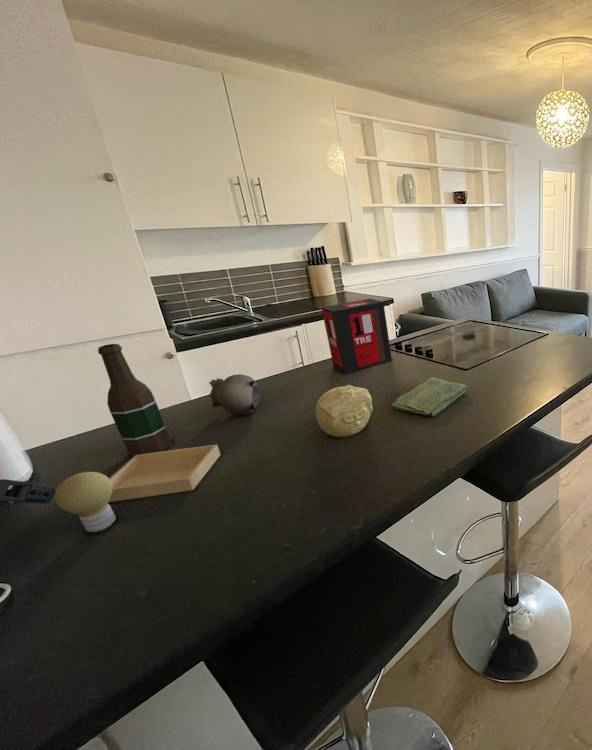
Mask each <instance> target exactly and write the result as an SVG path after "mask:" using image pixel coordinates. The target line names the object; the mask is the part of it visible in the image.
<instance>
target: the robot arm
mask: <svg viewBox="0 0 592 750" xmlns="http://www.w3.org/2000/svg"><path fill="white" fill-rule="evenodd" d="M10 486H11V488H10ZM9 488H10V490H9ZM56 489H57V488H55V487H54V486H45V485H37V484H35V483H34V482H31V481H29V480H24V481H23V480H22V481H21V480H14V479H13V480H12V479H4V478H2V477H1V476H0V502H8V503H9V504H20V503H31V504H43V505H44V504H45V505H47V504H49V503H51V502H52V500H53V498H54V497H55V492H56ZM8 490H9V492H8ZM7 492H8V494H7ZM6 494H7V496H6Z"/></svg>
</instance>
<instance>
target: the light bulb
mask: <svg viewBox="0 0 592 750" xmlns="http://www.w3.org/2000/svg"><path fill="white" fill-rule="evenodd" d="M109 478H110V477H108V476H107V475H105V474H103V473H101V472H97V471H83V472H79V473H75V474H73V475H71V476H70V477H68V478H66V479H65V480H64V481H62V482H61V483H60V484H59V485H58V486H57V488H55V489H56V491H55V494H54V499H55V502H56V504H57V505H58V507H59V508H60V509H62V510H63V511H65V512H68V513H70V514H74V515H77V516H79V520H80V521H81V524H82V525H83V527H84V529H85V531H86V532H89V533H97V532H100V531H103V530H106V529H108V528H109V527H110V526H112V525H113V523H115V522H116V515H115V513H114V511H113V509H112V506H111V505H110V504H109V502H108V501H109V499H110V497H111V495H112V490H113V486H112V483H111V481H110V479H109Z"/></svg>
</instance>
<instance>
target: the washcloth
mask: <svg viewBox="0 0 592 750" xmlns="http://www.w3.org/2000/svg"><path fill="white" fill-rule="evenodd" d="M467 389H468V387H467V385H466V384H463V383H458V382H453V381H446V380H443V379H441V378H437V377H430V378H428V379H427V380H426V381H424V382H423V383H420V384H418V385H417V386H415V387H414V388H412V389H411V390H409V391H408V392H406V393H404V394H402V395H399V396H398V397H397V398H396V399H395V400H394V401H393V402H392V404H391V407H394V409H396V410H401V411H404V412H410V413H414V414H421V415H424V416H430V417H435V416H437V415H439V413H440V412H442V411H444V410H445V408H447V407H448V406H450V405H451V404H452V403H453V402H455V401H456V400H458V399H459V398H460V397H462V395H464V394H465V393H466V391H467Z"/></svg>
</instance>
